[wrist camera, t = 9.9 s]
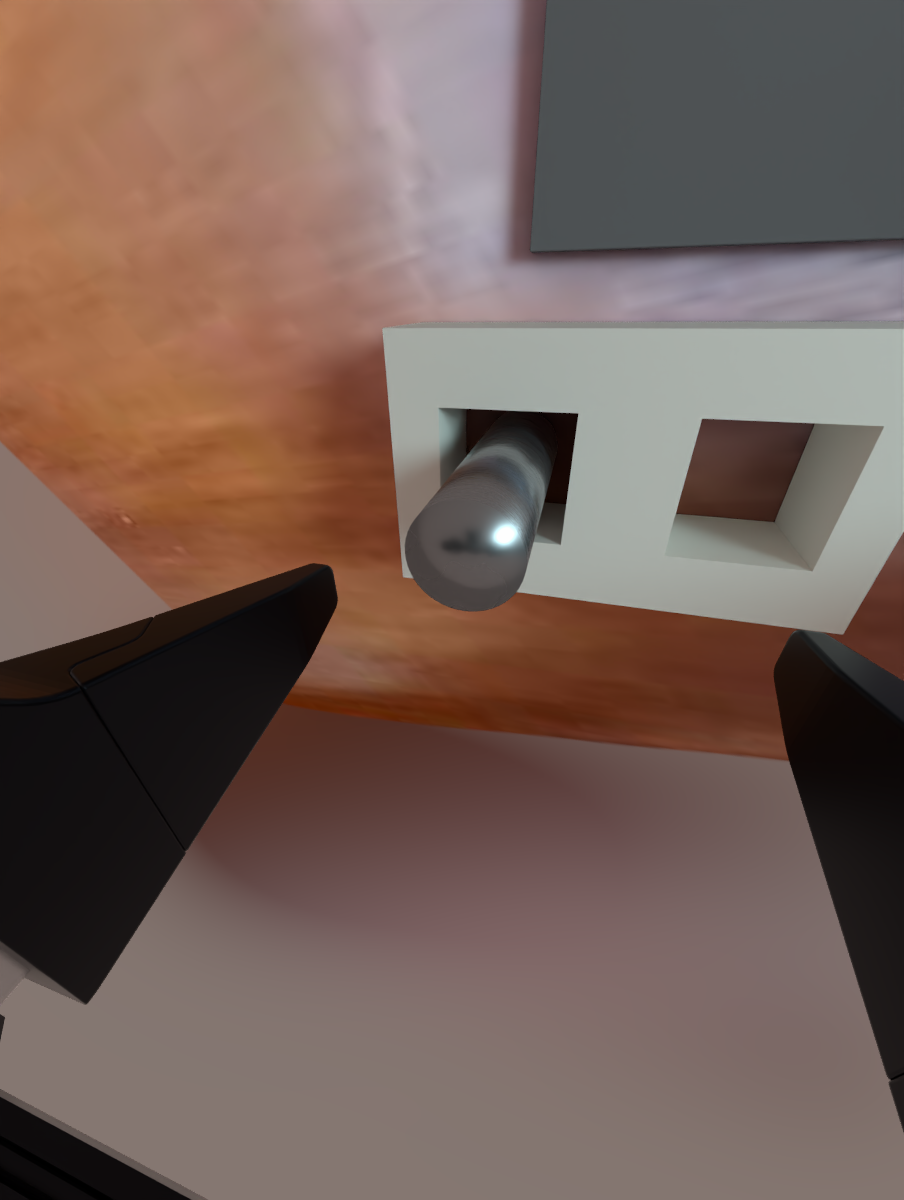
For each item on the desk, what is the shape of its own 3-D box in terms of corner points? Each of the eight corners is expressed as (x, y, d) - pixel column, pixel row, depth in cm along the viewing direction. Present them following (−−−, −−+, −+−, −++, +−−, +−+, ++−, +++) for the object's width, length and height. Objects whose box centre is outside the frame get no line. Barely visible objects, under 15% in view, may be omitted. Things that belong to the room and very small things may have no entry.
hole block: (924, 321, 14) (1023, 328, 11) (801, 576, 19) (842, 634, 16) (422, 322, 17) (382, 328, 14) (431, 536, 22) (403, 577, 19)
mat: (1291, -441, 8) (1337, -491, 7) (964, 237, 13) (978, 235, 12) (566, -243, 10) (564, -271, 10) (532, 252, 15) (529, 251, 15)
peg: (562, 410, 18) (531, 505, 10) (553, 485, 19) (521, 619, 11) (486, 407, 18) (400, 494, 10) (484, 479, 20) (408, 602, 12)
